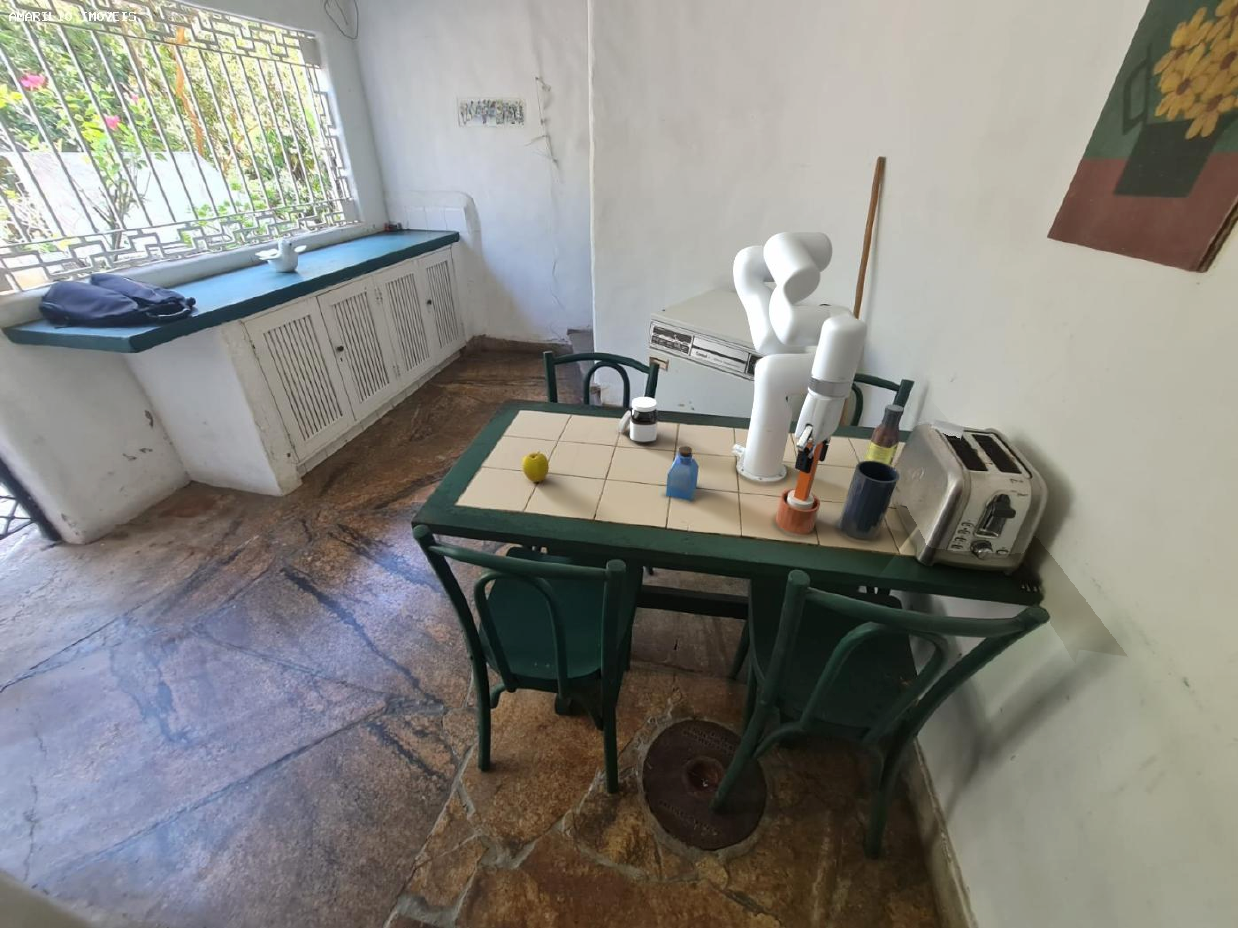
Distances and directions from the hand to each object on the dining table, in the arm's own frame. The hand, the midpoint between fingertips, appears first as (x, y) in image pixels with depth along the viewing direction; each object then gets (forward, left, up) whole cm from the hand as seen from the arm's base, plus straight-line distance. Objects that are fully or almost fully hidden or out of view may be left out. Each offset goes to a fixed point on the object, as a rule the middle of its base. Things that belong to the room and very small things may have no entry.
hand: (809, 464), depth 106 cm
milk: (+17, +28, -17) cm, 37 cm away
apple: (-55, -30, -17) cm, 65 cm away
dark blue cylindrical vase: (+11, +8, -16) cm, 21 cm away
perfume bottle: (-26, -8, -17) cm, 32 cm away
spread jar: (-52, +4, -17) cm, 55 cm away
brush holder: (0, 0, -16) cm, 16 cm away
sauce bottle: (+5, +32, -17) cm, 36 cm away
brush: (0, 0, -16) cm, 16 cm away
